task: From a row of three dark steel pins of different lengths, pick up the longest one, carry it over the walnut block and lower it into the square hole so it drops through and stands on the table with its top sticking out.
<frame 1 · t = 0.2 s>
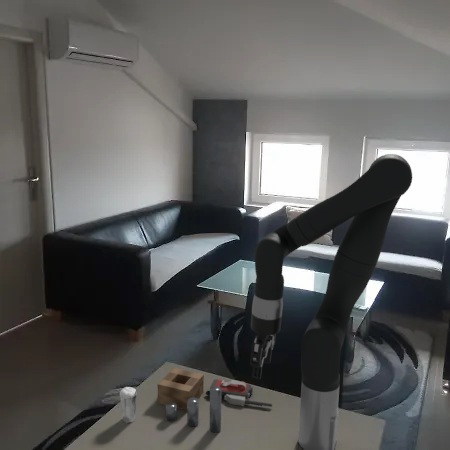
hand: (261, 370, 125), 18 cm above the table, tool pointing down, fingers open, 8 cm apart
milkshake: (130, 420, 133), on the table
pin medium: (192, 423, 131), on the table
pin short: (171, 418, 134), on the table
pin long: (215, 429, 129), on the table
hole block: (181, 397, 144), on the table
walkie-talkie: (240, 399, 145), on the table
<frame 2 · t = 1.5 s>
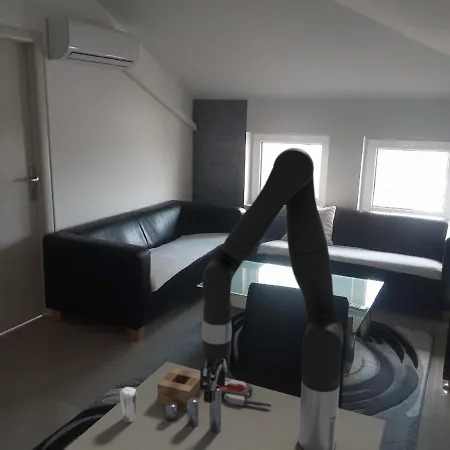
hand: (214, 393, 127), 11 cm above the table, tool pointing down, fingers open, 8 cm apart
nothing on the table moved.
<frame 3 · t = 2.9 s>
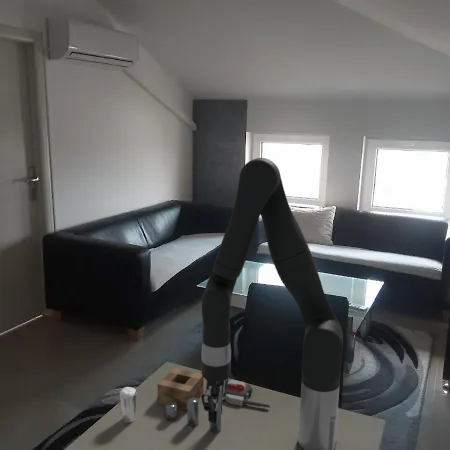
hand: (215, 417, 128), 4 cm above the table, tool pointing down, fingers closed on pin long, 3 cm apart
pin long: (215, 429, 129), on the table, touching gripper
everything else where it was.
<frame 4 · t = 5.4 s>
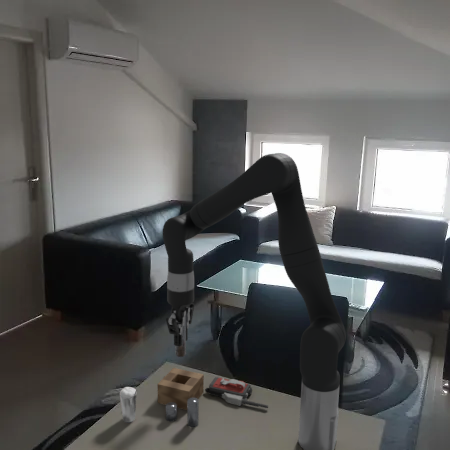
hand: (180, 342, 140), 18 cm above the table, tool pointing down, fingers closed on pin long, 3 cm apart
pin long: (180, 354, 140), point 14 cm above the table, touching gripper
everything else where it was.
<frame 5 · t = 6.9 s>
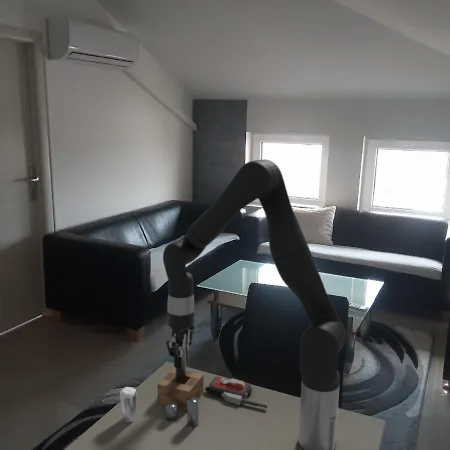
hand: (180, 364, 141), 11 cm above the table, tool pointing down, fingers closed on pin long, 3 cm apart
pin long: (180, 375, 142), point 7 cm above the table, touching gripper
everything else where it was.
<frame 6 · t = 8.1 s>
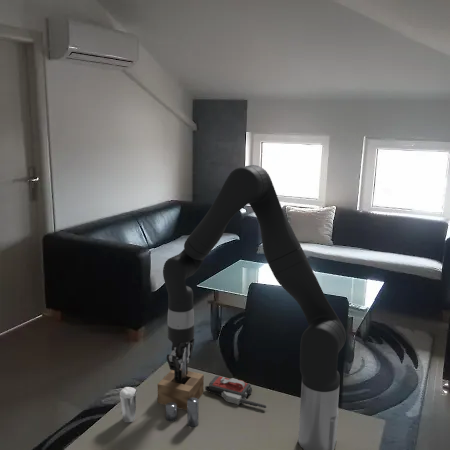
hand: (181, 377, 142), 7 cm above the table, tool pointing down, fingers closed on pin long, 3 cm apart
pin long: (180, 388, 143), point 3 cm above the table, touching gripper
when the fingers open (7 cm above the table, at t = 8.2 s): pin long drops 3 cm, resting in hole block.
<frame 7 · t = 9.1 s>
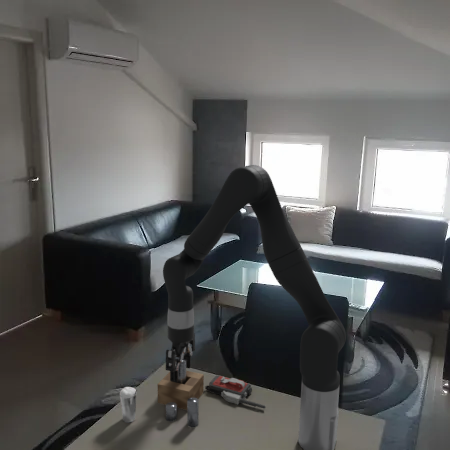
hand: (181, 374, 142), 8 cm above the table, tool pointing down, fingers open, 8 cm apart
pin long: (181, 397, 144), resting in hole block
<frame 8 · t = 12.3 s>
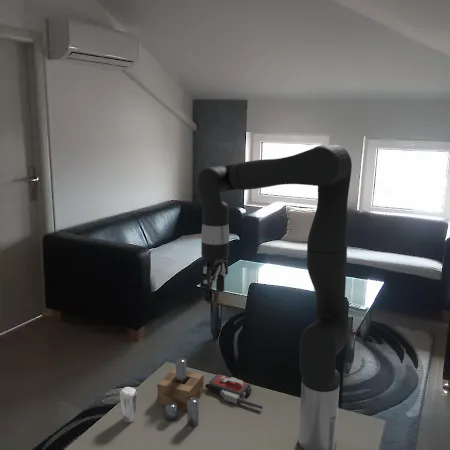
hand: (214, 296, 136), 32 cm above the table, tool pointing down, fingers open, 8 cm apart
at the end: pin long 0.0 cm off-centre on the hole block, point 0.0 cm above the hole block's base; pin long tilted 0°; the gripper is holding nothing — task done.
